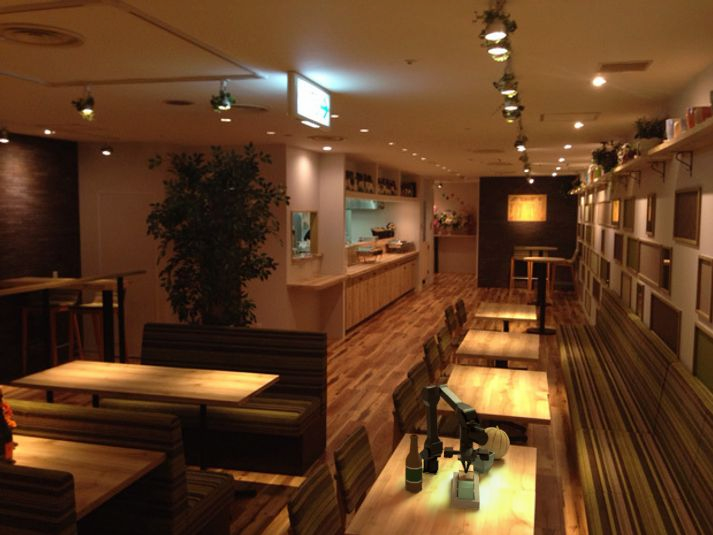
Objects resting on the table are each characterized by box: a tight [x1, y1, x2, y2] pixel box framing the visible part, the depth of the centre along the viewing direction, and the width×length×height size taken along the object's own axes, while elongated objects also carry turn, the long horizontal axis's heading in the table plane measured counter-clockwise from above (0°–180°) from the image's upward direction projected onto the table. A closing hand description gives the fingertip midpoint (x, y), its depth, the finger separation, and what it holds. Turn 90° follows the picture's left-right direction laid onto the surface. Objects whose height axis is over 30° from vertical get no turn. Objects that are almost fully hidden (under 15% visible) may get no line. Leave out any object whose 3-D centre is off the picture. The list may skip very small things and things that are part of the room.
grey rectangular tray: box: [451, 471, 481, 510], centre depth 267 cm, size 11×26×3 cm, turn 170°
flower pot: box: [471, 447, 495, 475], centre depth 287 cm, size 9×9×9 cm
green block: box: [457, 480, 474, 500], centre depth 258 cm, size 6×6×5 cm
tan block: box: [458, 470, 474, 482], centre depth 266 cm, size 6×6×5 cm
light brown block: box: [458, 463, 474, 473], centre depth 274 cm, size 6×6×5 cm
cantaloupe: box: [477, 425, 511, 460], centre depth 301 cm, size 15×15×15 cm
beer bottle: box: [404, 433, 424, 494], centre depth 269 cm, size 8×8×24 cm
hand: (465, 472), depth 266 cm, fingers closed
